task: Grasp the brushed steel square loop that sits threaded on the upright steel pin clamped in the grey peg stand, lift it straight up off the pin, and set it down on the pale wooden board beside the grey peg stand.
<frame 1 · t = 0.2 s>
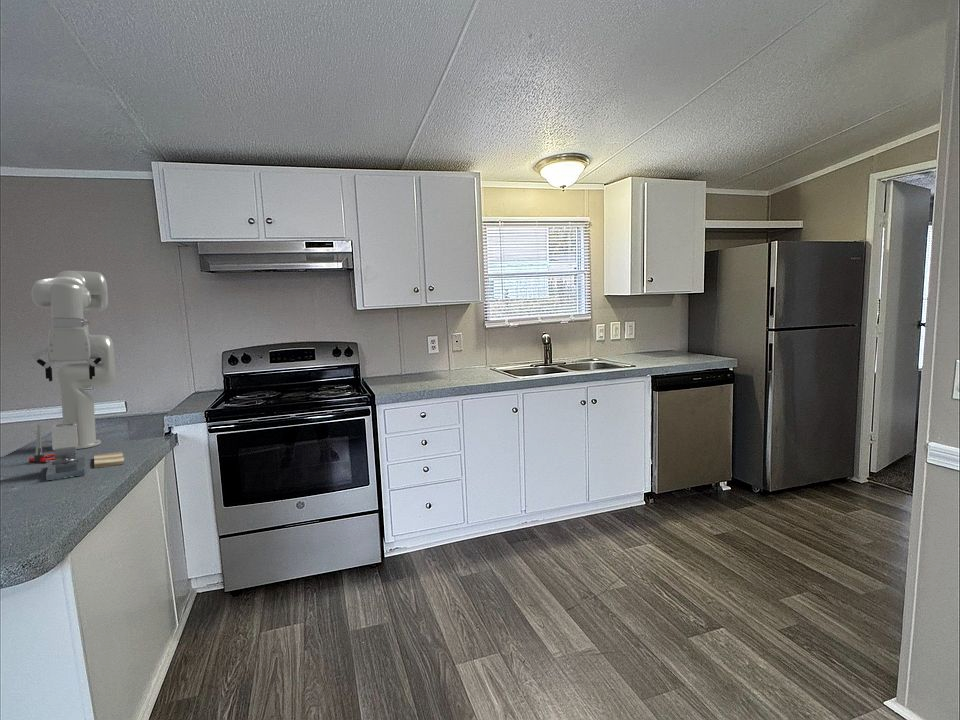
hand: (71, 379, 154), 30 cm above the countertop, tool pointing down, fingers open, 9 cm apart
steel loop: (65, 446, 159), point 8 cm above the countertop, touching grey peg stand
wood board: (109, 461, 171), on the countertop
grey peg stand: (66, 471, 159), on the countertop
tow hook: (50, 460, 173), on the countertop
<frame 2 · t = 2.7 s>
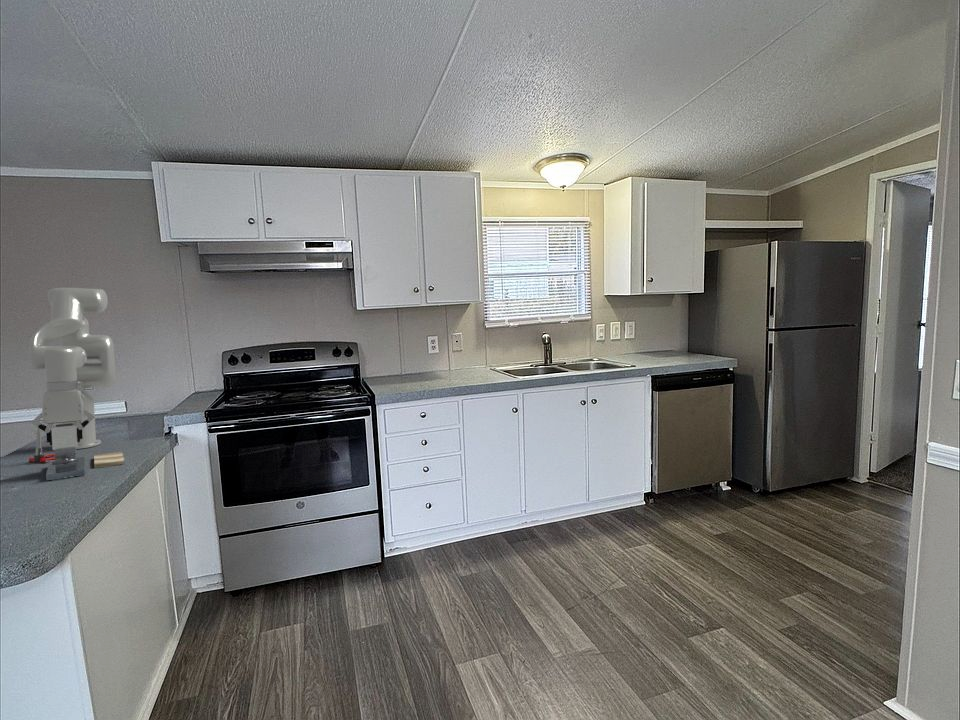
hand: (65, 442, 159), 9 cm above the countertop, tool pointing down, fingers closed on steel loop, 6 cm apart
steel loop: (65, 446, 159), point 8 cm above the countertop, touching gripper, grey peg stand
everything else where it was.
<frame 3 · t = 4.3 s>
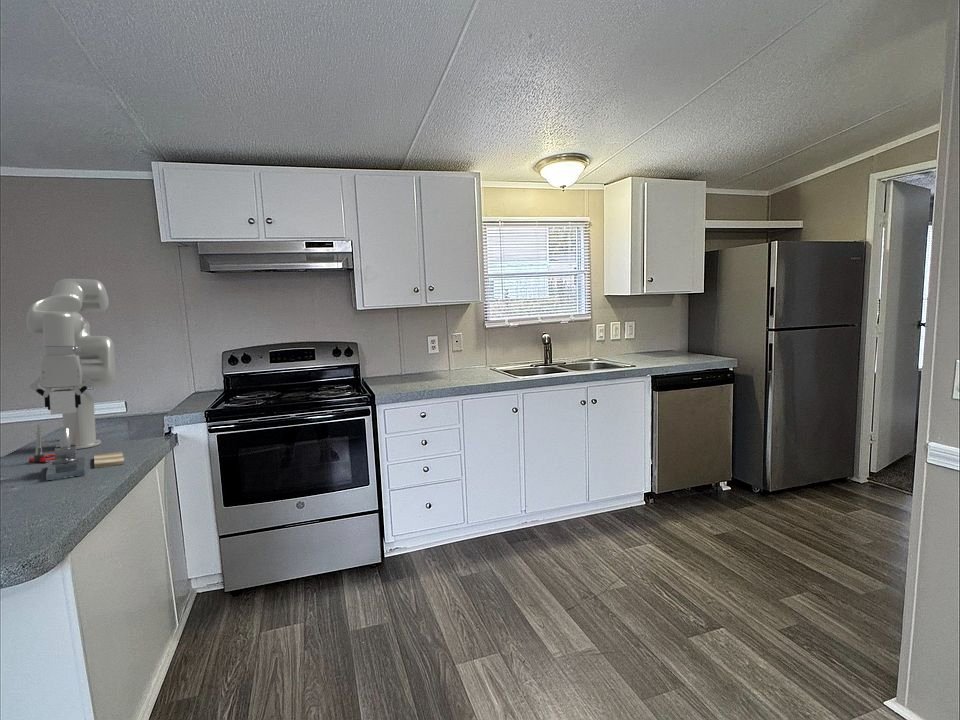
hand: (63, 407, 158), 21 cm above the countertop, tool pointing down, fingers closed on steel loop, 6 cm apart
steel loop: (63, 412, 158), point 19 cm above the countertop, touching gripper
everything else where it was.
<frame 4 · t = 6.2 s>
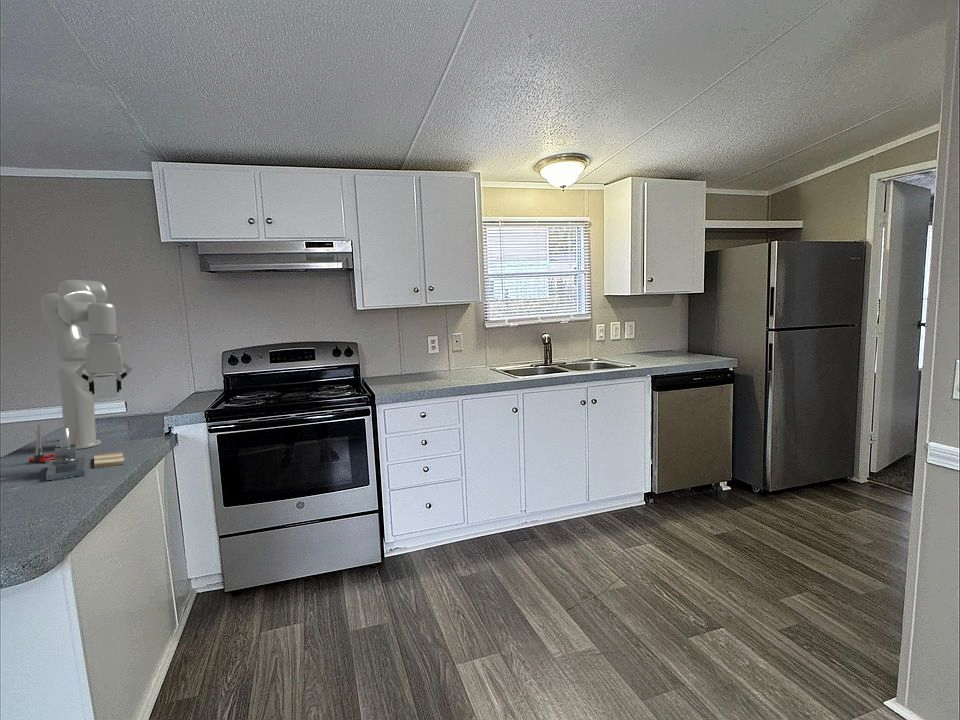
hand: (105, 392, 169), 24 cm above the countertop, tool pointing down, fingers closed on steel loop, 6 cm apart
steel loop: (105, 396, 169), point 22 cm above the countertop, touching gripper
everything else where it was.
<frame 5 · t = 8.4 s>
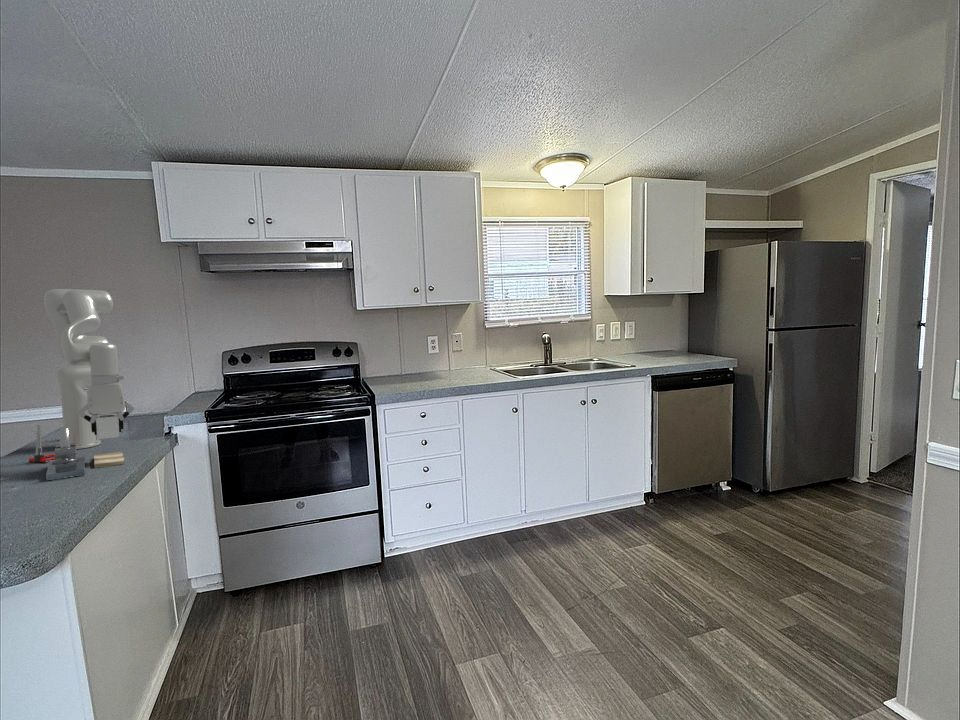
hand: (107, 432, 170), 10 cm above the countertop, tool pointing down, fingers closed on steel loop, 6 cm apart
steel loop: (108, 436, 170), point 9 cm above the countertop, touching gripper
everything else where it was.
when the fingers open (4 cm above the countertop, at t = 10.2 s): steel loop drops 1 cm, resting on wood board.
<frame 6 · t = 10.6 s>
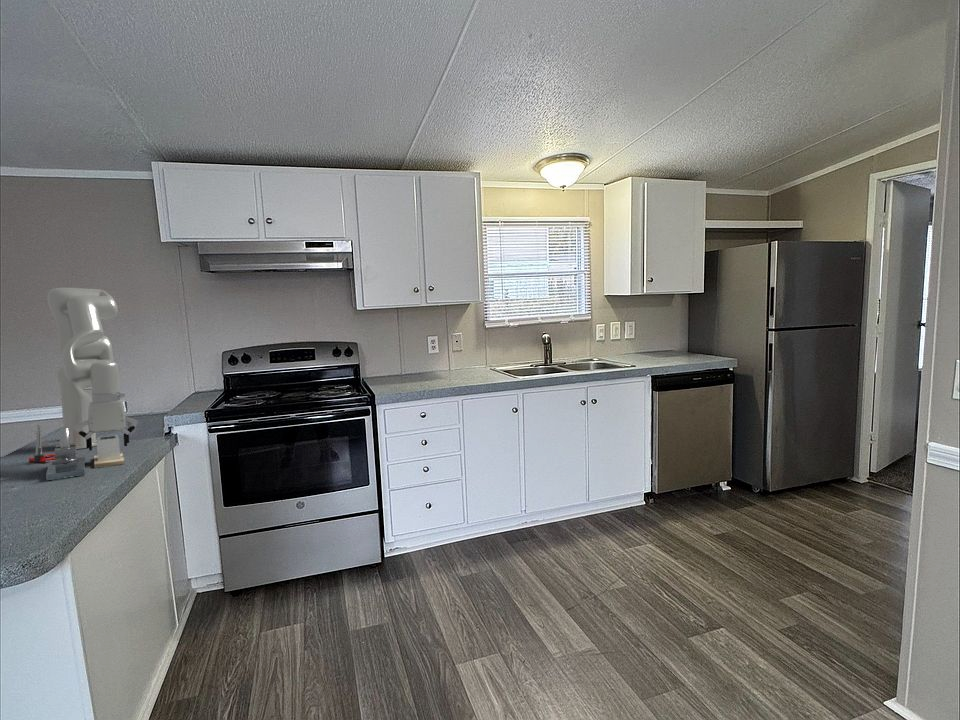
hand: (108, 447, 171), 5 cm above the countertop, tool pointing down, fingers open, 9 cm apart
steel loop: (108, 457, 171), point 1 cm above the countertop, touching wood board
everything else where it was.
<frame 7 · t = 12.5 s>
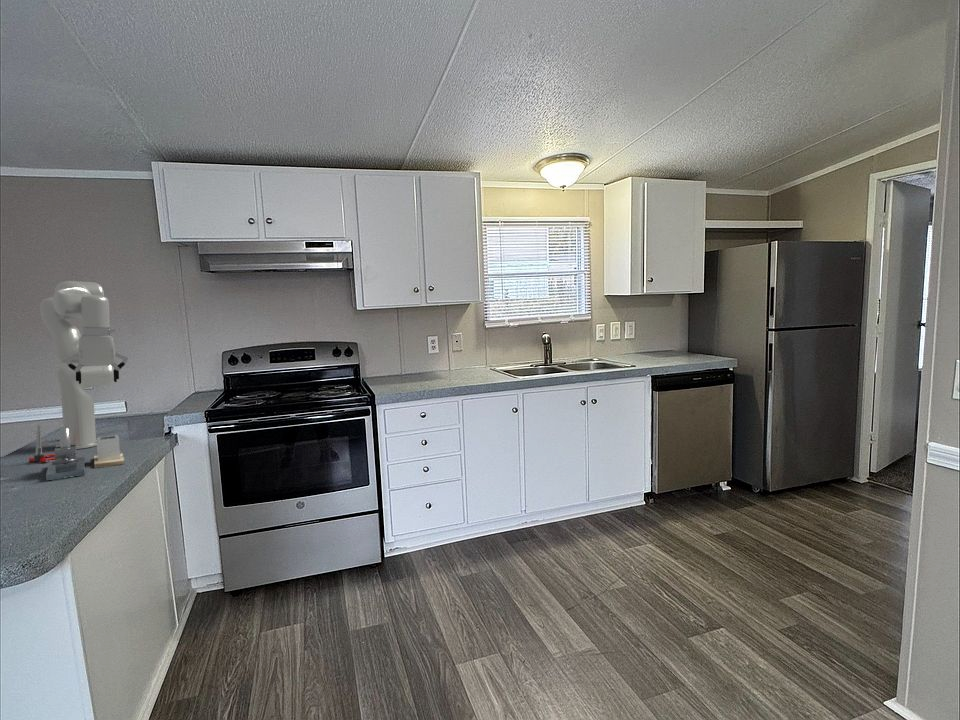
hand: (97, 382, 171), 27 cm above the countertop, tool pointing down, fingers open, 9 cm apart
nothing on the countertop moved.
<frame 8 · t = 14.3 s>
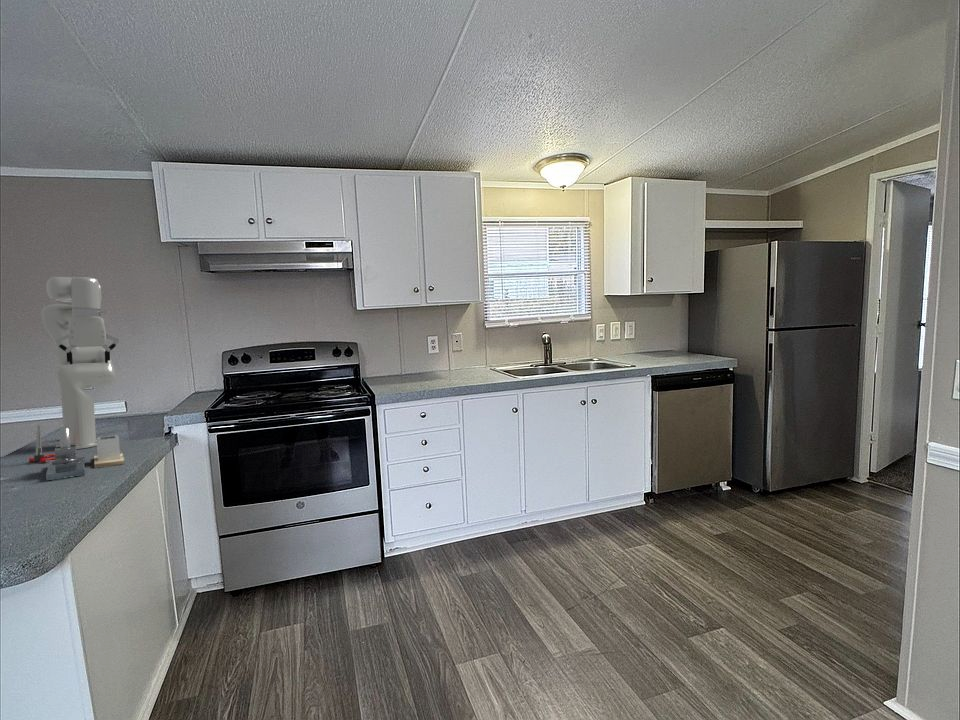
hand: (89, 363, 172), 33 cm above the countertop, tool pointing down, fingers open, 9 cm apart
nothing on the countertop moved.
at the end: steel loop inside the target area on the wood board (0.0 cm from its centre), point 1.2 cm above the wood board's base; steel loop tilted 0°; the gripper is holding nothing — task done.
